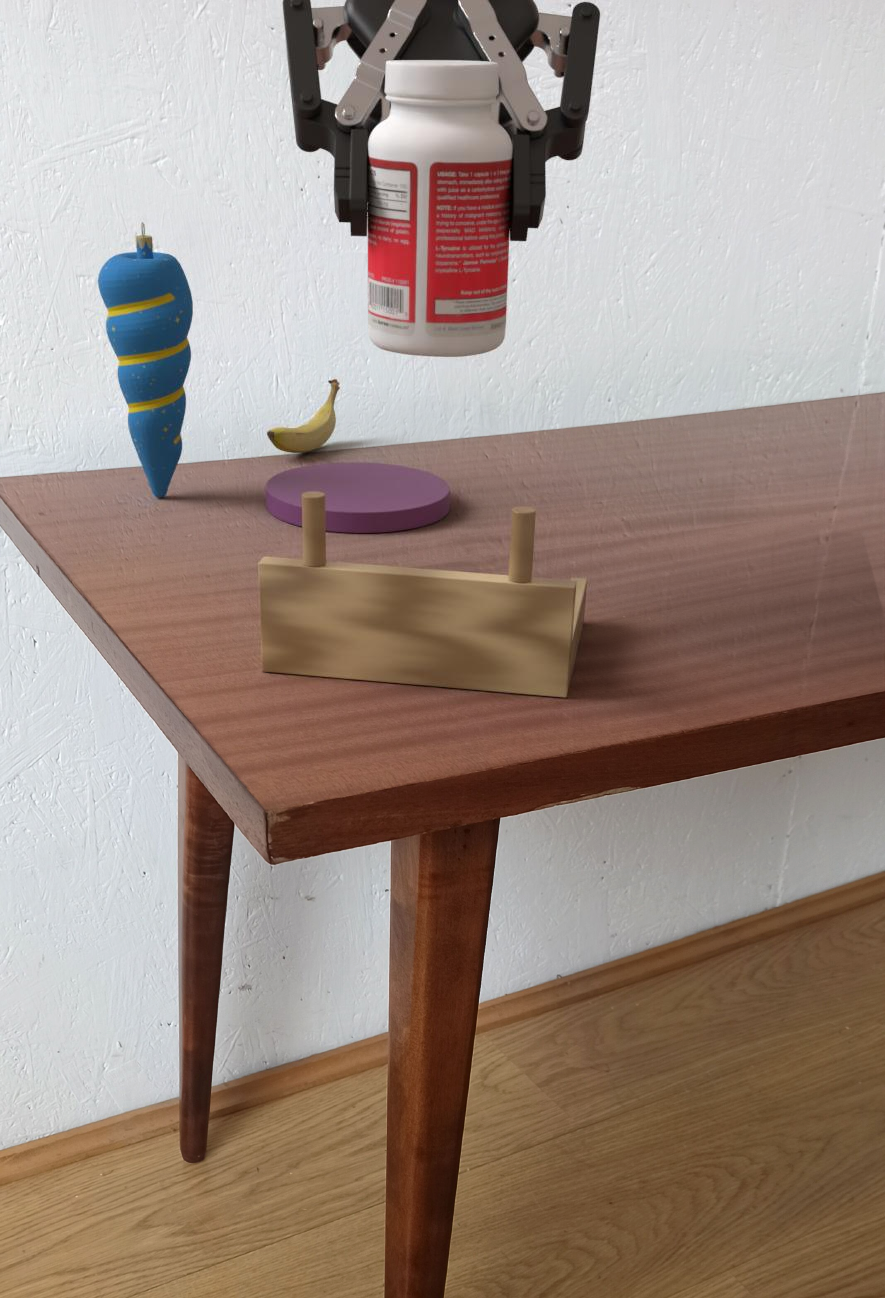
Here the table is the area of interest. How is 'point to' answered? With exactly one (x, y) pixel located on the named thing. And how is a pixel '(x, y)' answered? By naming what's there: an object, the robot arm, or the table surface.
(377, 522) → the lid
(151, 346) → the ornament
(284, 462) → the table surface
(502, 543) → the table surface
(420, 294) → the pill bottle
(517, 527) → the rack
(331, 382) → the banana
